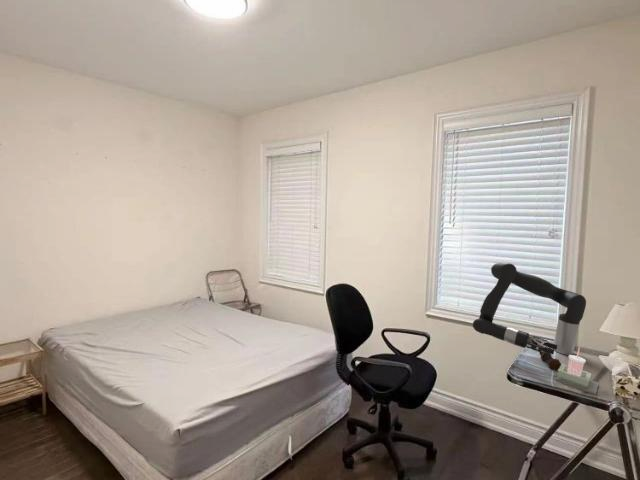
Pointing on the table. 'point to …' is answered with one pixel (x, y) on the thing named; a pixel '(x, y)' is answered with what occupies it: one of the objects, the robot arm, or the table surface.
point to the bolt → (550, 360)
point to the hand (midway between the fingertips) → (555, 349)
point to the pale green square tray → (577, 380)
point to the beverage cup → (575, 364)
